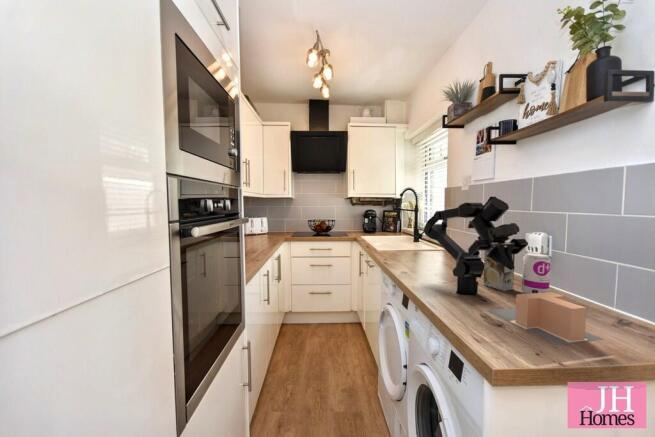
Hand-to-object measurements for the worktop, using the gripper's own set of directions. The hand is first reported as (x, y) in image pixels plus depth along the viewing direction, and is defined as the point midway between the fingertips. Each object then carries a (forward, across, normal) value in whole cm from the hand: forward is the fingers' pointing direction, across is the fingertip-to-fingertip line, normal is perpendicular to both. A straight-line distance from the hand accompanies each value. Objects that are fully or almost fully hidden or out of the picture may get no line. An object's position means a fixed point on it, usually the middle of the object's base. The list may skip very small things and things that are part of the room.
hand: (512, 269), depth 84 cm
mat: (+16, 0, +3) cm, 16 cm away
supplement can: (0, +25, +20) cm, 32 cm away
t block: (+18, 0, 0) cm, 19 cm away
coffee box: (-7, +18, +27) cm, 33 cm away
